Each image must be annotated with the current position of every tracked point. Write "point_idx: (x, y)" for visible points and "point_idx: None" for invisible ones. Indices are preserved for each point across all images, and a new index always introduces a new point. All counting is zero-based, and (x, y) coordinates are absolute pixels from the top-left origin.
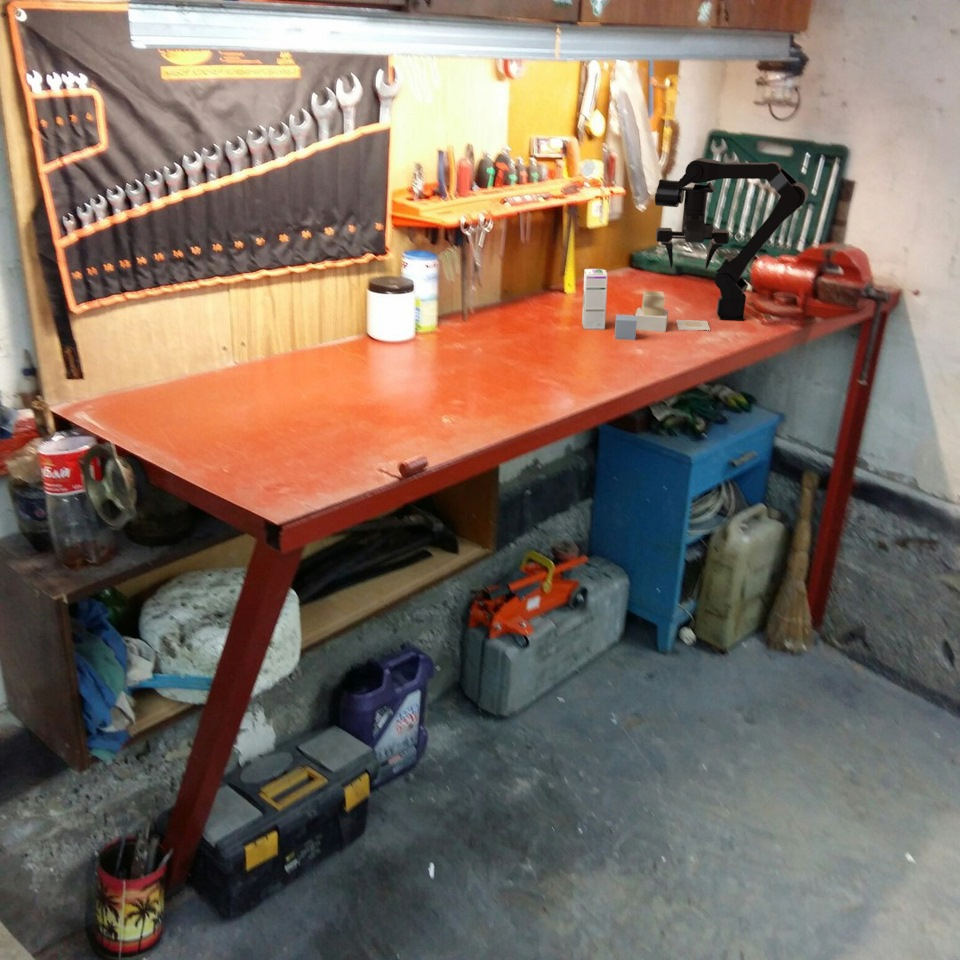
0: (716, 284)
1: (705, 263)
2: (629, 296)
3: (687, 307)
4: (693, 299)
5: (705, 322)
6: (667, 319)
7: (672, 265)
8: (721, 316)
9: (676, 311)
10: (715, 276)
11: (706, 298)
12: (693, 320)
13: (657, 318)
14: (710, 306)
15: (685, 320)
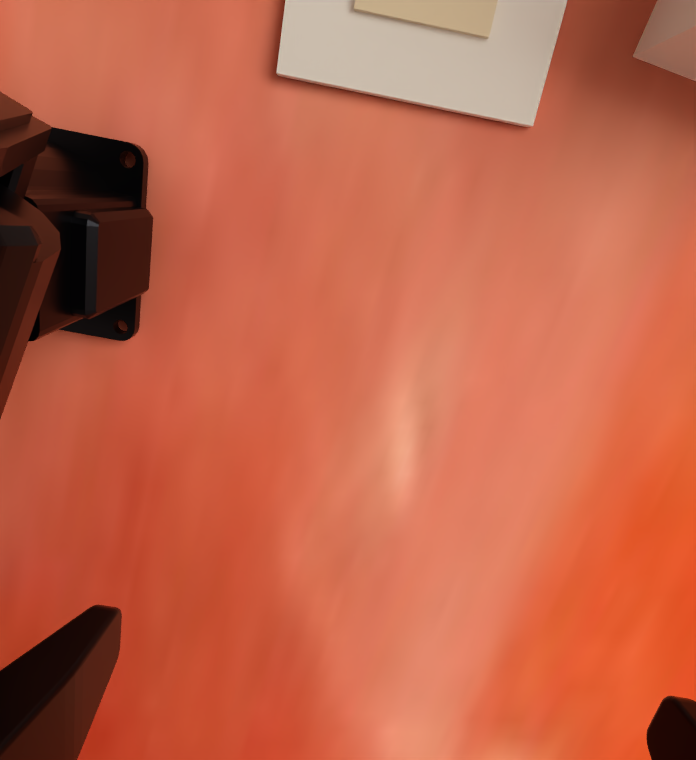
0: (51, 237)
1: (84, 729)
2: (610, 727)
3: (320, 497)
4: (233, 656)
5: (301, 17)
6: (674, 5)
7: (691, 724)
8: (125, 188)
9: (429, 407)
10: (2, 239)
11: (147, 670)
12: (391, 90)
13: None
14: (155, 511)
15: (460, 96)
